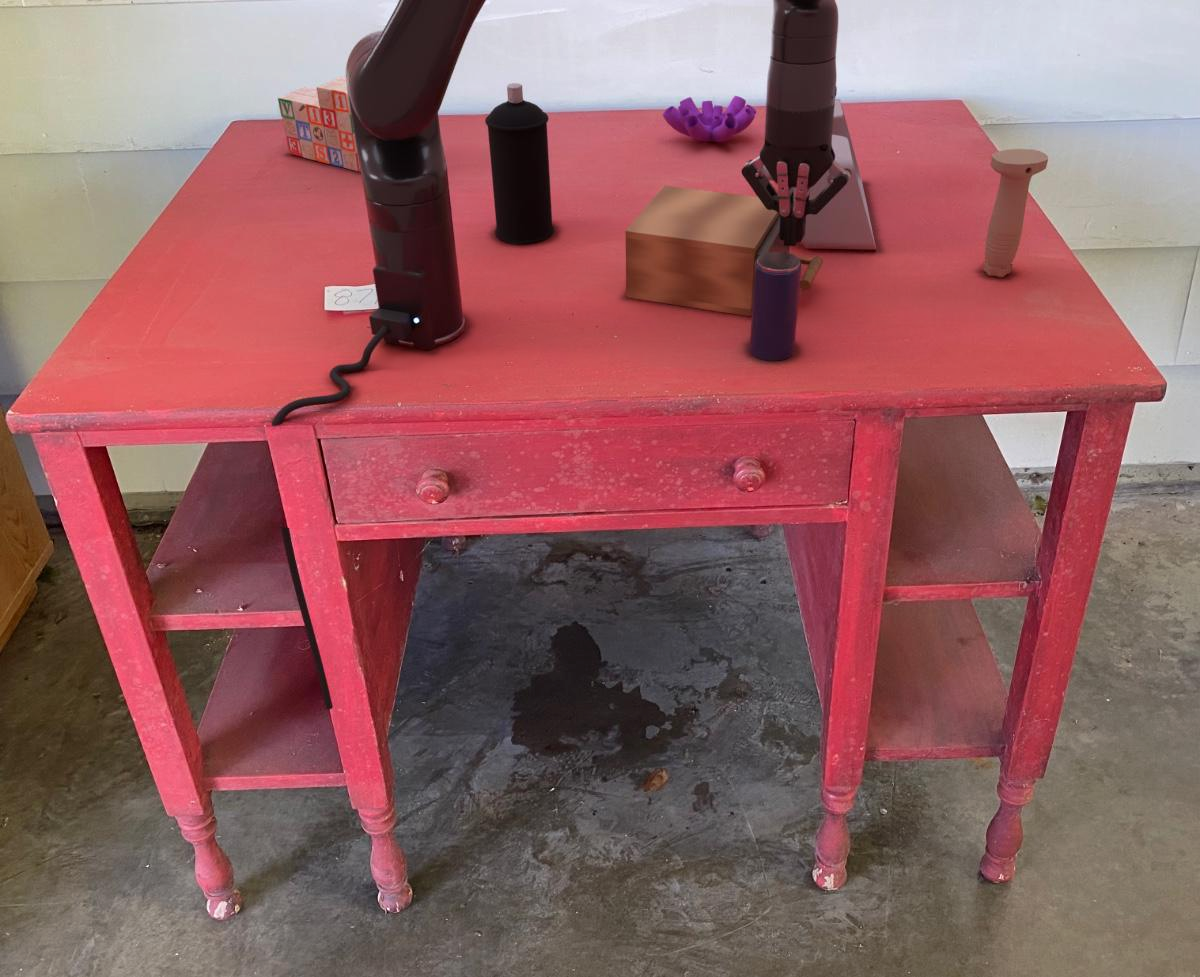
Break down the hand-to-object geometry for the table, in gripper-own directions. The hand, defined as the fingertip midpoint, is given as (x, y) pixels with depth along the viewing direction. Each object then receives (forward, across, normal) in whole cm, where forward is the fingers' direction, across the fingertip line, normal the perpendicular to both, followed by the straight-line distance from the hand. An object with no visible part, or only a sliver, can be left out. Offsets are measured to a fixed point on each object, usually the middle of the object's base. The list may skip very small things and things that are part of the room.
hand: (791, 243), depth 134 cm
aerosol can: (+6, -39, +7) cm, 40 cm away
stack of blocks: (+5, -77, +23) cm, 80 cm away
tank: (+7, -3, +25) cm, 26 cm away
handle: (+7, +23, +14) cm, 28 cm away
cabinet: (+6, -11, 0) cm, 13 cm away
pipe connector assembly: (+6, -25, +49) cm, 55 cm away
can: (+7, +1, -14) cm, 16 cm away
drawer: (+6, -7, 0) cm, 9 cm away
